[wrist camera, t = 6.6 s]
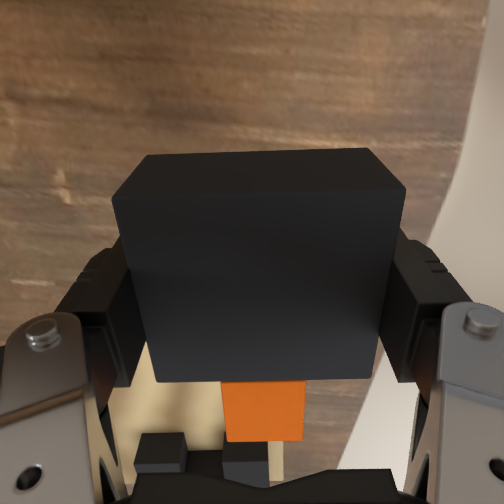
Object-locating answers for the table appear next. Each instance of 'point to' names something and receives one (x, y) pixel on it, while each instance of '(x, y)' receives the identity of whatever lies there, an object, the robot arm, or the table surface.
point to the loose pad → (261, 273)
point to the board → (173, 416)
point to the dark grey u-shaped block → (204, 458)
